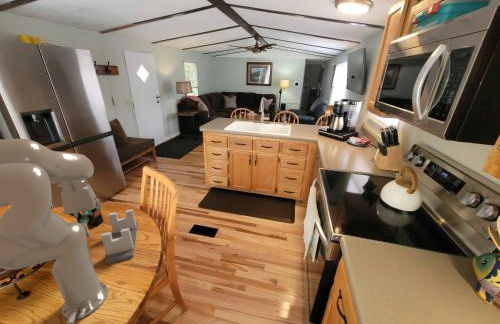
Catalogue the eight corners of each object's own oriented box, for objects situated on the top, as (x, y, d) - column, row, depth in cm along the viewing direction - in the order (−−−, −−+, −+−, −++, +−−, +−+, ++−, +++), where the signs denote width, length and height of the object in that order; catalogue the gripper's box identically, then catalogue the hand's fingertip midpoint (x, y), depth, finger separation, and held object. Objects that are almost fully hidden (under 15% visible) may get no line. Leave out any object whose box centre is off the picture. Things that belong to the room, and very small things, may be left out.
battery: (97, 226, 107) (92, 210, 103) (85, 225, 107) (80, 209, 104) (104, 221, 111) (99, 205, 107) (92, 220, 111) (87, 204, 108)
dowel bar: (89, 237, 80) (85, 224, 78) (70, 241, 78) (65, 228, 76) (101, 209, 98) (98, 198, 95) (86, 212, 95) (82, 201, 93)
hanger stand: (133, 257, 89) (127, 235, 84) (105, 264, 85) (98, 242, 81) (137, 224, 109) (133, 205, 105) (116, 228, 106) (110, 209, 101)
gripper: (44, 192, 75) (59, 233, 81) (97, 185, 81) (108, 223, 87) (53, 184, 81) (67, 222, 88) (101, 177, 87) (111, 213, 94)
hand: (87, 222), depth 87 cm, fingers closed on dowel bar, 3 cm apart
